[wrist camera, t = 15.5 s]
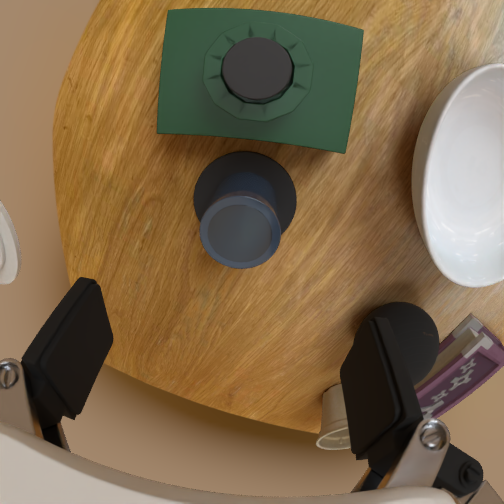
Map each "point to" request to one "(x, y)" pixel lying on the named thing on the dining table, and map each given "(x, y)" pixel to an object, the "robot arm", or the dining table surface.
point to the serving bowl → (463, 178)
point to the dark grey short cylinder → (257, 68)
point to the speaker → (411, 336)
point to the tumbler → (241, 221)
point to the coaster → (251, 164)
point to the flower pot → (334, 421)
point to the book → (460, 367)
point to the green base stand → (266, 110)
